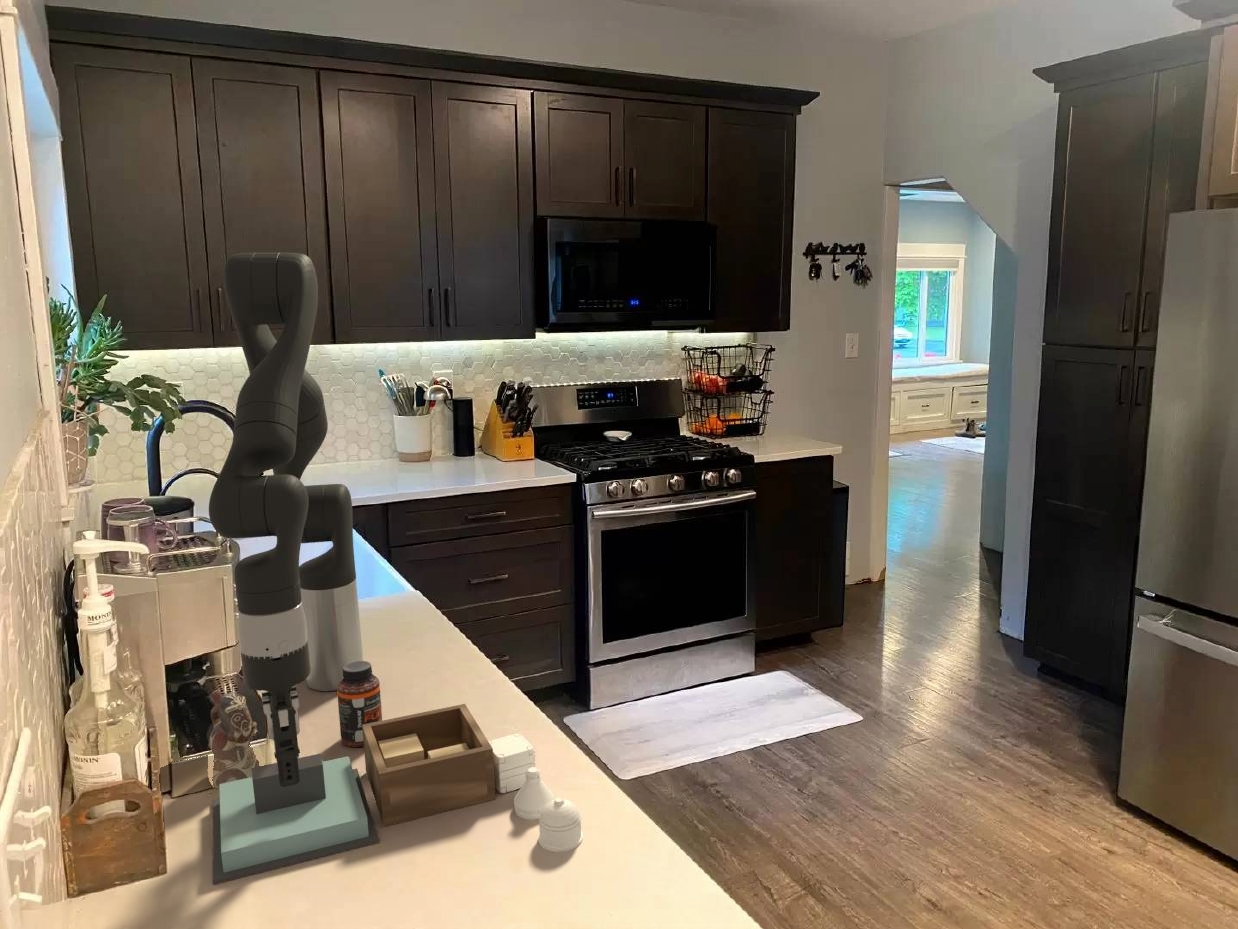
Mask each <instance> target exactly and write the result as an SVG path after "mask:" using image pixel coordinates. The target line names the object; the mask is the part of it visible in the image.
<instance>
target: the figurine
mask: <svg viewBox="0 0 1238 929" xmlns="http://www.w3.org/2000/svg"><path fill="white" fill-rule="evenodd" d="M211 697H212V700H213V702H214V706H213V707H212V709H210V718H211V721H212V726H213V729H212V731H210V736H209V738H210V739H208V746H209V747H210V749H211V750H212V752H213V754H214V760H213V762H214V766H213V767H214V768H213V777H212V778H213V779H212V781H213V786H214V787H215V788H214V787H213V788H214V789H216V788H217V789H216V790H220V787H219V784H223V783H227V782H232V781H236V780H241V779H246V778H250V777H252V770H251V768H254V767H259V761H258V760H257V759H256V755H255V754H254V751H253V748H251V747H250V746H251V745H250V741H252V739H253V736H254V735H255V734H256V732H258V729H257V725H258V724H257V721H253V720H252V716H251V713H250V711H249V708H248V705H247V700H246V697H245V696H243V695H241V694H240V693H238V692H235V691H231V692H227V693H225V694H224V695H222V693H221V691H220V690H219V689H216V690H214V691H213V692H212V693H211ZM249 745H250V746H249Z"/></svg>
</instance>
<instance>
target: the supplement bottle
mask: <svg viewBox="0 0 1238 929" xmlns="http://www.w3.org/2000/svg"><path fill="white" fill-rule="evenodd" d="M372 667H373V666H372V663H371V662H370V661H366V660H363V661H355V662H350V663H348V664H346V665H344V666H343V677H344V678H343V679H342V680H341V681H340V682H339V683H338V685H337V690H336V694H337V704H338V705H337V706H338V717H339V718H338V720H339V728H340V729H339V732H340V733H339V734H340V740H341V743H342V744H344V745H346V746H348V747H352V748H353V747H354V748H364V743H363V731H362V725H363V724H368V723H373V722H378V721H383V713H382V712H383V711H382V698H381V684H380V680H379V678H378V677H377V676H376V675H374V674H373V669H372Z"/></svg>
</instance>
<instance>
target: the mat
mask: <svg viewBox="0 0 1238 929" xmlns="http://www.w3.org/2000/svg"><path fill="white" fill-rule="evenodd" d="M352 769H353V772H354V776H355V779H356V782H357V786H358V789H359V792H360V795H361V799H362V802H363V805H364V809H365V812H366V815H367V821H368V833H369V836H368V837H364V838H360V839H356V840H352V841H348V842H344V843H340V844H336V845H332V846H328V847H324V848H320V849H316V850H312V851H308V852H304V853H300V854H296V855H292V856H288V857H284V858H280V859H276V860H272V861H269V862H265V863H261V864H257V865H253V866H249V867H245V868H241V869H237V870H233V871H229V872H225V873H224V872H223V864H222V856H221V827H220V798H218V799H213V800H212V883H213V884H212V885H216V884H220V883H223V882H224V883H225V882H228V881H233V880H236V879H239V878H244V877H245V878H246V877H248V876H253V875H256V874H260V873H264V872H268V871H272V870H276V869H280V868H283V867H288V866H291V865H296V864H299V863H303V862H307V861H311V860H312V861H313V860H314V859H315V860H316V859H319V858H323V857H326V856H327V857H328V856H331V855H335V854H340V853H342V852H346V851H350V850H355V849H359V848H362V847H367V846H371V845H374V844H378V843H380V837H379V835H378V832H377V828H376V825H375V822H374V819H373V816H372V812H371V808H370V805H369V802H368V800H367V796H366V792H365V790H364V789H365V788H364V786H363V783H362V780H361V775H360V773H359V771H358V770H359V769H358V768H352Z"/></svg>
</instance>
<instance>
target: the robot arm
mask: <svg viewBox="0 0 1238 929" xmlns="http://www.w3.org/2000/svg"><path fill="white" fill-rule="evenodd" d="M223 287H224V292H225V297H226V302H227V306H228V309H229V312H230V316H231V319H232V322H233V325H234V328H235V331H236V334H237V336H238V340H239V343H240V345H241V348H242V351H243V353H244V354H243V355H244V358H245V360H246V364H247V367H248V372H249V375H248V376H247V378H246V380H245V381H244V383H243V385H242V386H241V389H240V391H239V394H238V396H237V400H236V405H235V407H236V408H235V413H234V414H235V416H234V426H233V434H232V435H233V436H232V443H231V446H230V448H229V451H228V453H227V455H226V456H227V457H226V459H225V461H224V463H223V466H222V468H221V471H220V472H219V474H218V477H217V478H216V480H215V483H214V484H213V488H212V490H211V493H210V497H209V503H208V517H209V521H210V523H211V526H212V527H213V529H214V530H215V531H216V532H217V534H219V535H220V536H221V537H224V538H226V539H247V538H248V539H249V538H263V537H276V544H275V546H274V547H273V548H271V549H268V550H266V551H261V552H257V553H255V554H251V555H248V556H246V557H243V558H242V559H241V560H239V561H238V562H237V563H236V564H235V567H234V574H233V575H234V585H235V586H234V587H235V592H236V593H235V595H236V603H237V609H238V610H237V612H238V613H237V614H238V618H237V632H238V641H239V651H240V660H241V668H242V676H243V677H242V678H243V683H244V685H245V686H246V687H247V688H249V689H251V690H254V691H259V692H260V691H262V692H261V701H262V706H263V707H262V708H263V715H264V716H265V717H266V721H267V722H266V723H267V731H268V738H269V739H270V740H271V741H273V745H274V751H273V753H274V759H275V760H276V763H278V773H279V782H280V786H281V787H287V786H291V785H296V784H298V783H299V781H300V778H299V768H298V758H300V753H301V752H300V747H299V742H298V735H299V734H300V728H301V727H300V721H299V713H298V711H299V708H300V702H299V696H298V692H297V687H296V685H298V684H301V683H302V682H304V681H305V680H306V684H307V685H306V686H308V688H310V689H311V690H315V691H320V692H330V691H332V692H333V691H337V685H338V683H339V682H340V681H341V680H342V679H343V678H344V677H343V666H344V665H346V664H348V663H350V662H355V661H364V657H363V655H364V653H363V643H362V631H361V620H360V619H361V618H360V608H359V598H358V597H359V596H358V586H357V573H356V561H355V549H354V532H353V531H354V530H353V528H354V527H353V526H354V523H353V522H354V520H353V515H354V514H353V503H352V502H353V501H352V496H351V493H350V490H349V488H348V487H347V486H346V485H345V484H343V483H330V484H329V483H328V484H314V485H313V484H312V485H304V483H303V482H302V481H301V479H302V476H303V473H304V472H305V470H306V468H307V467H308V465H309V464H310V463H311V461H312V460H313V458H314V457H315V456H316V455H317V453H318V451H319V450H320V448H321V447H322V444H323V443H324V441H325V438H326V437H327V433H328V429H329V428H328V427H329V425H328V416H327V412H326V411H327V410H326V405H325V399H324V394H323V392H322V389H321V386H320V385H319V384H318V382H317V381H316V380H315V378H314V377H313V376H312V374H311V373H309V371H308V370H306V365H307V361H308V357H309V352H310V348H311V343H312V339H313V333H314V329H315V328H314V327H315V324H316V323H315V322H316V319H317V318H316V317H317V313H318V305H319V304H318V302H319V284H318V277H317V273H316V269H315V265H314V263H313V261H312V259H311V258H310V257H309V256H308V255H306V254H304V253H300V252H299V253H298V252H240V253H234V254H232V255H230V256H229V257H228V258H227V259H226V262H225V263H224V265H223ZM268 325H284V327H283V330H282V332H281V334H280V336H279V337H278V339H277V340H276V338H275V336H274V334H272V331H271V329H270V327H269V326H268ZM270 470H272V473H273V474H270V475H268V474H267V475H260V474H262V473H265V472H267V471H270ZM325 542H327V543H328V542H329V543H330V542H332V546H331V547H330V549H328V550H327V551H325V552H324V553H322V554H320V555H318V556H315V557H314V558H312V559H309V560H307V561H305V562H303V563H302V564H300V553H301V544H309V543H310V544H313V543H325Z"/></svg>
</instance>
